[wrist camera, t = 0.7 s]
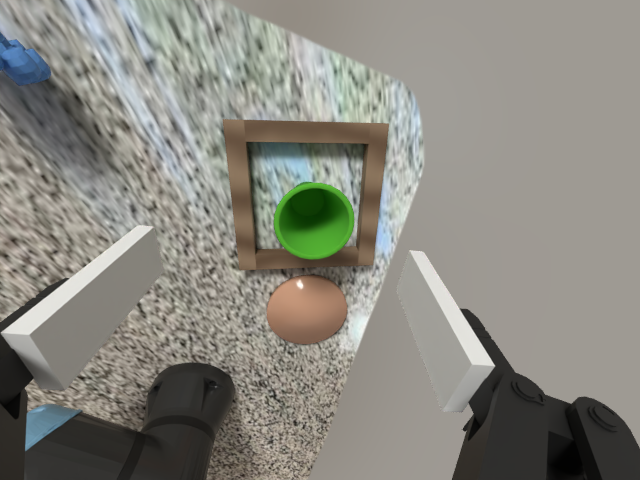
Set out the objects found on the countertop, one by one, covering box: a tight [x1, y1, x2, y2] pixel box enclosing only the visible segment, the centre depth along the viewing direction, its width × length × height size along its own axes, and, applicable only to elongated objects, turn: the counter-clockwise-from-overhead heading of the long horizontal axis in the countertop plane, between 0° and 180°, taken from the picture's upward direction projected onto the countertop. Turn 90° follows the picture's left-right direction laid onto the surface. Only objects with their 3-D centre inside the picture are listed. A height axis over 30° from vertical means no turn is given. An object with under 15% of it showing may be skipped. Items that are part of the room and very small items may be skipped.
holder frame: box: [223, 119, 389, 270], centre depth 38 cm, size 21×21×2 cm
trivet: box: [267, 275, 347, 344], centre depth 47 cm, size 14×14×1 cm
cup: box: [274, 182, 354, 259], centre depth 34 cm, size 9×9×11 cm
